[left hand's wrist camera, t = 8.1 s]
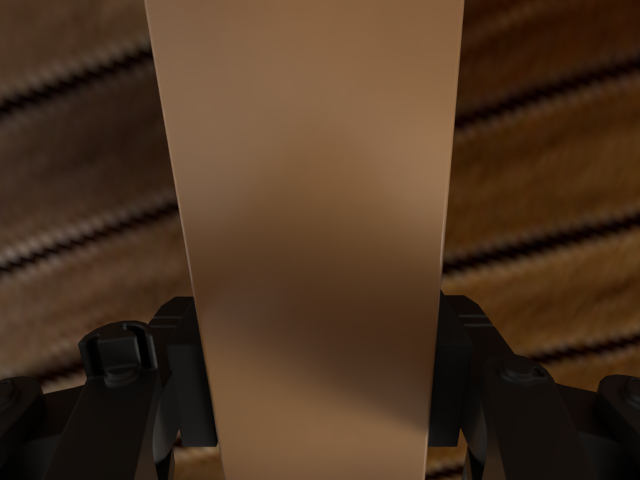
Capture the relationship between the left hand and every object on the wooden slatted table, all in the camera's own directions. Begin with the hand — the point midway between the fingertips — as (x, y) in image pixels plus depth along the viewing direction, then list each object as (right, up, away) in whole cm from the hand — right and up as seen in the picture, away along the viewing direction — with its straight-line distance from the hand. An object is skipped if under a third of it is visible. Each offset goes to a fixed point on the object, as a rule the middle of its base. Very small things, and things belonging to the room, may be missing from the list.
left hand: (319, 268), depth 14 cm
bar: (-1, +19, -6) cm, 20 cm away
